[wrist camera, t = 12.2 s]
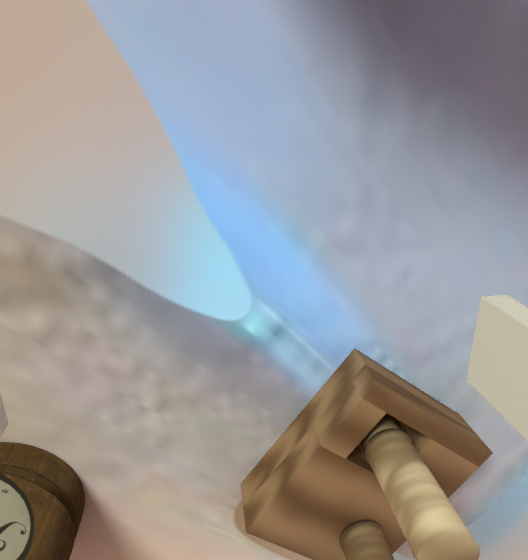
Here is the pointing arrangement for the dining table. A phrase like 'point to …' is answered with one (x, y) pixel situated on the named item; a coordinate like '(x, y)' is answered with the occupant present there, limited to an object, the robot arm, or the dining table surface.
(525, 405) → the robot arm
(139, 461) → the dining table surface
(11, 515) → the wooden container
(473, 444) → the board
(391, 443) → the beech peg
